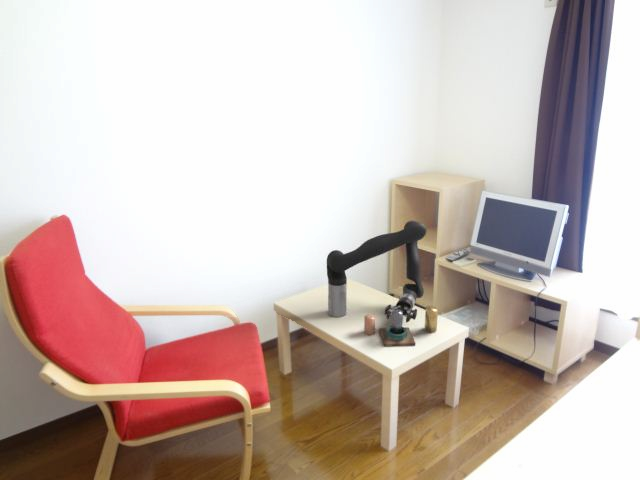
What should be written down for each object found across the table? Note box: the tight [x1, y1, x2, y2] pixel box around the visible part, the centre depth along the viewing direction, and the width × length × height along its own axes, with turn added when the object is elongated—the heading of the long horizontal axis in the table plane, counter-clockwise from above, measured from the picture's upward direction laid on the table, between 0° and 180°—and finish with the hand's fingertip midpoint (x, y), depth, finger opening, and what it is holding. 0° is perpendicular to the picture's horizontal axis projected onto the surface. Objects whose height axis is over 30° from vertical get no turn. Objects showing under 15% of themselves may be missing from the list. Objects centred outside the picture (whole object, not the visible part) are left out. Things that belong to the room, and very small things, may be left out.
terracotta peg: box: [363, 314, 376, 336], centre depth 210 cm, size 5×5×8 cm
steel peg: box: [391, 310, 404, 334], centre depth 204 cm, size 4×4×12 cm
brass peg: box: [423, 305, 439, 334], centre depth 211 cm, size 6×6×11 cm
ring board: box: [378, 325, 416, 347], centre depth 206 cm, size 14×14×4 cm
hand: (397, 318), depth 203 cm, fingers open, 8 cm apart
